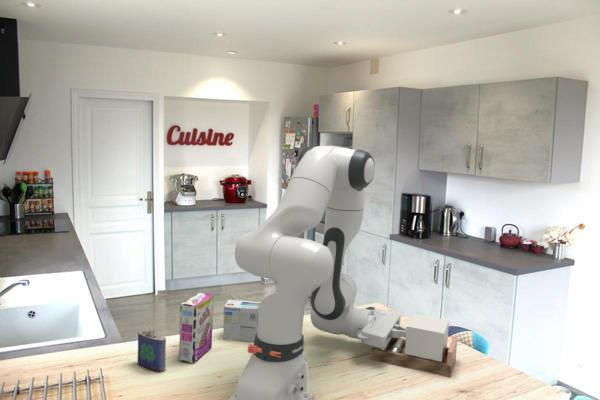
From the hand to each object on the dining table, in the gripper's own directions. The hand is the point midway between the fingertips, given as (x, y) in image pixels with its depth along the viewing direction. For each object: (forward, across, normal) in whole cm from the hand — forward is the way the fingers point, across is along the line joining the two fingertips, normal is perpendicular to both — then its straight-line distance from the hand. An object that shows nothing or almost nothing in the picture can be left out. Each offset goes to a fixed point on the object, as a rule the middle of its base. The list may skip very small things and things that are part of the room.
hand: (409, 333), depth 144 cm
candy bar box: (-54, -27, +8) cm, 61 cm away
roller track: (+2, 0, +8) cm, 8 cm away
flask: (-60, -39, +8) cm, 72 cm away
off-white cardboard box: (+5, 0, +4) cm, 6 cm away
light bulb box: (-49, -10, +8) cm, 51 cm away
